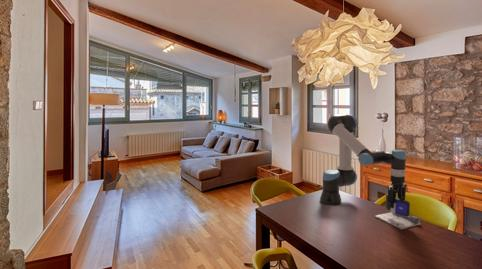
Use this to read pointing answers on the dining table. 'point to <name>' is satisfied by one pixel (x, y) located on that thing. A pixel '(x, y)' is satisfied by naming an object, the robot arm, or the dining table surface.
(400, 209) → the small display screen
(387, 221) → the white plate with bar
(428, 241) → the dining table surface
